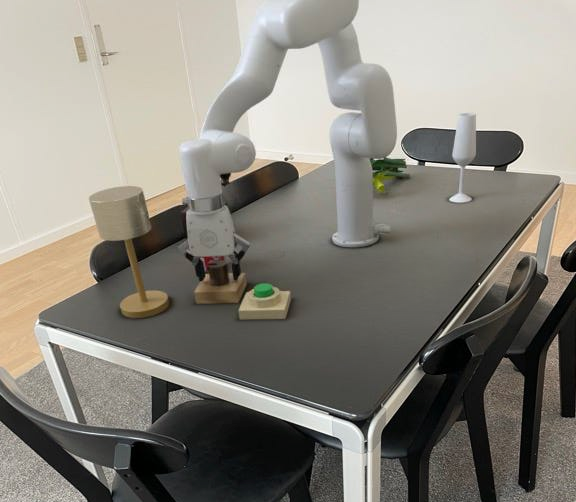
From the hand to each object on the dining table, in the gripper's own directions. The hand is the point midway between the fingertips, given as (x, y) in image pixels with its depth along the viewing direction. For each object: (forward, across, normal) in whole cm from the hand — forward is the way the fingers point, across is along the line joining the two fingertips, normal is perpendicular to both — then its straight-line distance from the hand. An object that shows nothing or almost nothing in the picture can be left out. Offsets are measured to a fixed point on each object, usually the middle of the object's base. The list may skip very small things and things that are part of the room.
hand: (219, 278), depth 130 cm
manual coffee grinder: (+4, -12, +40) cm, 42 cm away
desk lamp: (+4, -17, -6) cm, 18 cm away
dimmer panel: (+4, 0, 0) cm, 4 cm away
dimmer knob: (+1, 0, 0) cm, 1 cm away
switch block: (+4, +12, -8) cm, 15 cm away
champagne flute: (+4, +61, +63) cm, 88 cm away
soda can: (+4, -6, +15) cm, 17 cm away
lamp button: (0, +12, -9) cm, 15 cm away
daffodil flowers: (+4, +36, +79) cm, 87 cm away
